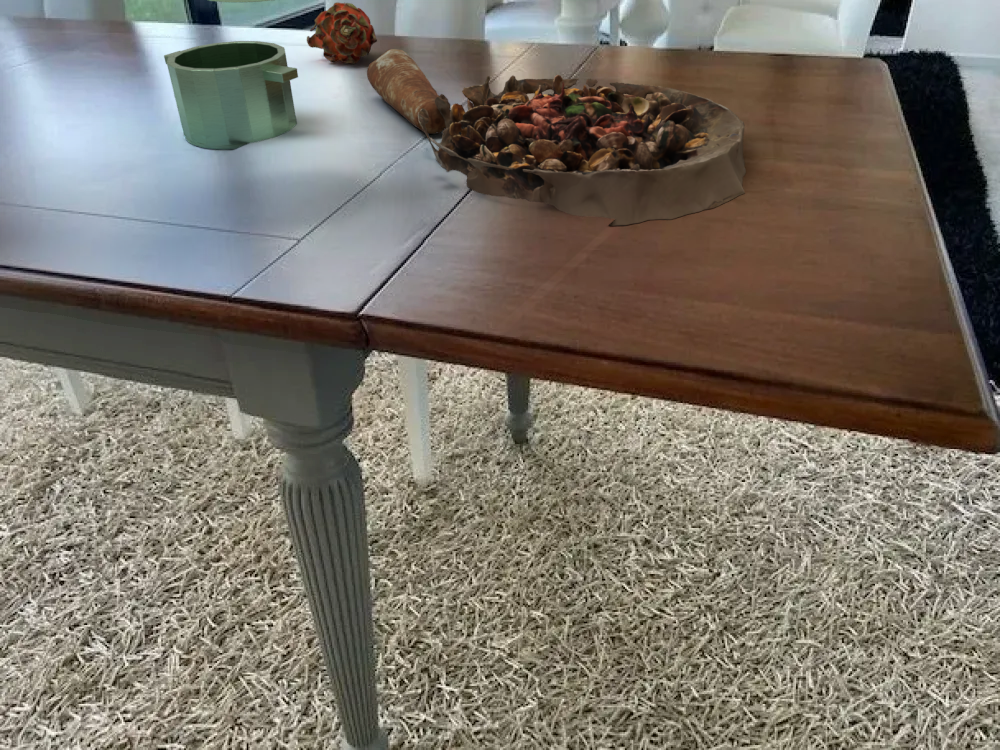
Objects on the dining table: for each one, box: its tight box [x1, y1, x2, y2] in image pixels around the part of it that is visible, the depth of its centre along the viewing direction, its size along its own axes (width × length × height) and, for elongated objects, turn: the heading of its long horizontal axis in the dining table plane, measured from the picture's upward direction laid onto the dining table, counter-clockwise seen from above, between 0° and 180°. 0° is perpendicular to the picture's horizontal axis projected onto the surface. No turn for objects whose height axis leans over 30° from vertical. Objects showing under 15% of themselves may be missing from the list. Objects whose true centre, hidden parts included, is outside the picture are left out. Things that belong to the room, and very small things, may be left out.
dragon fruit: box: [306, 1, 378, 65], centre depth 122 cm, size 8×8×12 cm
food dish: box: [418, 74, 747, 227], centre depth 87 cm, size 35×33×8 cm
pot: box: [163, 40, 299, 150], centre depth 96 cm, size 13×18×8 cm
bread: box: [366, 48, 446, 135], centre depth 101 cm, size 6×19×6 cm, turn 19°
